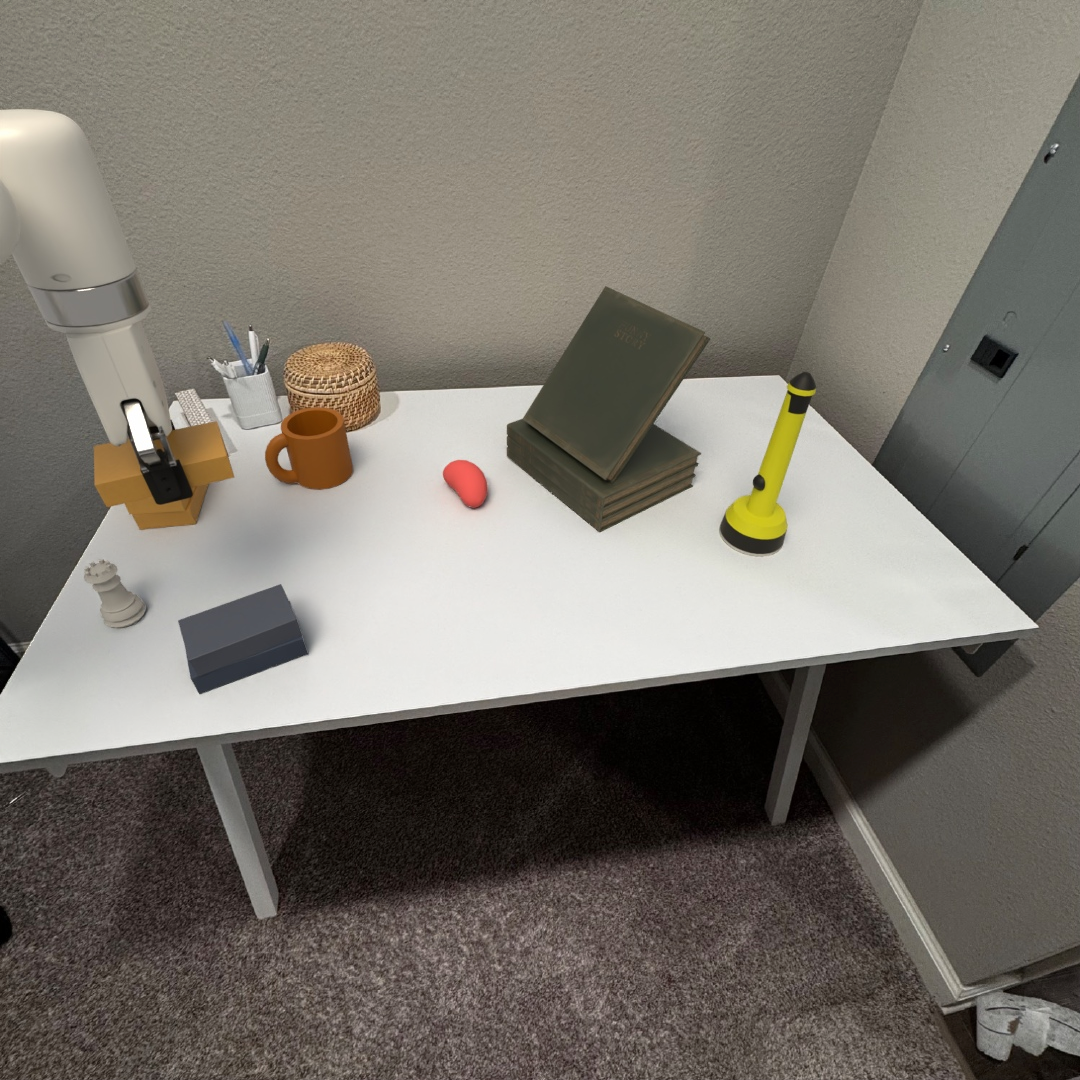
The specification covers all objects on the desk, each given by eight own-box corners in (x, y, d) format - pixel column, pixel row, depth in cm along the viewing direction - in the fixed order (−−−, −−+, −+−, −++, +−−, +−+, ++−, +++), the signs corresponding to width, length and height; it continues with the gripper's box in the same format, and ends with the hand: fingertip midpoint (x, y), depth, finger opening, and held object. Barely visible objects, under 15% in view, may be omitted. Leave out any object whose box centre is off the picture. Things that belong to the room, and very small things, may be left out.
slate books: (199, 695, 66) (181, 662, 62) (191, 650, 70) (173, 617, 66) (309, 655, 70) (298, 622, 67) (295, 615, 75) (284, 582, 71)
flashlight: (815, 352, 77) (752, 360, 74) (864, 386, 70) (797, 395, 68) (760, 510, 93) (707, 521, 91) (796, 549, 87) (740, 561, 85)
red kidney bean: (483, 483, 98) (464, 448, 95) (500, 496, 90) (480, 460, 87) (455, 500, 97) (435, 466, 95) (470, 515, 90) (448, 479, 87)
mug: (269, 467, 97) (253, 416, 91) (347, 452, 101) (337, 402, 95) (276, 500, 91) (260, 448, 85) (359, 482, 95) (349, 431, 89)
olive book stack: (506, 457, 101) (506, 303, 85) (597, 422, 111) (613, 278, 94) (598, 533, 88) (619, 368, 71) (693, 486, 97) (731, 331, 81)
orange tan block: (106, 507, 57) (94, 484, 55) (105, 468, 62) (93, 445, 60) (234, 477, 61) (226, 455, 59) (224, 442, 66) (216, 420, 64)
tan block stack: (196, 525, 86) (176, 479, 81) (136, 531, 85) (112, 484, 80) (211, 477, 95) (194, 432, 90) (157, 481, 93) (137, 436, 88)
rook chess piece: (135, 630, 72) (106, 582, 67) (97, 629, 72) (64, 580, 67) (154, 602, 75) (128, 554, 70) (117, 601, 75) (88, 552, 70)
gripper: (42, 269, 54) (125, 443, 66) (31, 348, 43) (133, 541, 55) (139, 259, 57) (202, 427, 69) (152, 330, 46) (225, 517, 58)
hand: (171, 476), depth 62 cm, fingers closed on orange tan block, 7 cm apart
